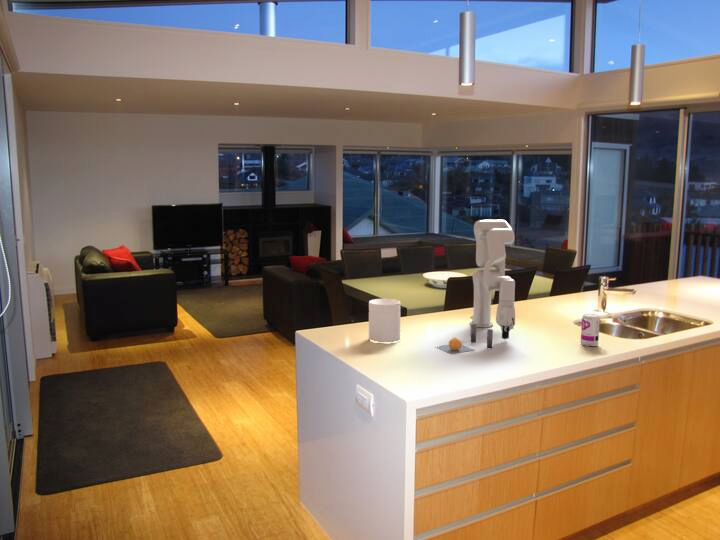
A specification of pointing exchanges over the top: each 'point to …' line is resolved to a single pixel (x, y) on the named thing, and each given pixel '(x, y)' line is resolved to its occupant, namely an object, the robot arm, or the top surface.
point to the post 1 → (473, 332)
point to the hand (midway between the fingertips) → (505, 338)
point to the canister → (384, 320)
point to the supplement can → (590, 330)
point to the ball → (455, 344)
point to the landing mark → (447, 349)
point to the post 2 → (489, 338)
